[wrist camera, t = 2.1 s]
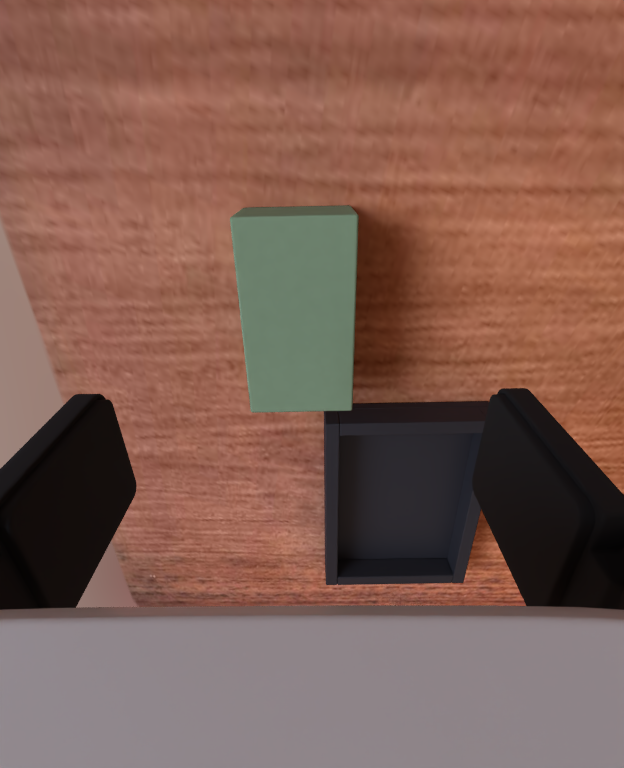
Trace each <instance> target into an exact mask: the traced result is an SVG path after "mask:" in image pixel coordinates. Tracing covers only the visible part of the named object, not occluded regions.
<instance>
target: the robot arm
mask: <svg viewBox="0 0 624 768" xmlns="http://www.w3.org/2000/svg"><path fill="white" fill-rule="evenodd" d="M472 488H473V492H474V494H475V496H476V499H477V501H478V503H479V505H480V507H481V509H482V511H483V514H484V516H485V518H486V520H487V522H488V524H489V526H490V529H491V531H492V533H493V535H494V537H495V539H496V541H497V543H498V546H499V548H500V550H501V552H502V554H503V556H504V558H505V561H506V563H507V565H508V567H509V569H510V571H511V573H512V576H513V578H514V580H515V582H516V584H517V586H518V588H519V591H520V593H521V595H522V597H523V599H524V601H525V603H526V606H191V607H105V608H104V607H103V608H102V607H99V608H76V606H77V604H78V602H79V600H80V598H81V597H82V595H83V593H84V591H85V589H86V587H87V585H88V583H89V581H90V579H91V578H92V576H93V574H94V572H95V570H96V568H97V566H98V564H99V562H100V560H101V559H102V557H103V555H104V553H105V551H106V549H107V547H108V545H109V543H110V542H111V540H112V538H113V536H114V534H115V532H116V530H117V528H118V526H119V524H120V523H121V521H122V519H123V517H124V515H125V513H126V511H127V509H128V507H129V506H130V504H131V502H132V500H133V498H134V496H135V493H136V480H135V477H134V474H133V470H132V467H131V464H130V460H129V457H128V454H127V450H126V447H125V444H124V440H123V437H122V434H121V430H120V427H119V424H118V421H117V417H116V414H115V411H114V407H113V404H112V402H111V401H110V400H106V399H105V398H104V396H103V395H101V394H77V395H74V396H73V397H72V398H71V399H70V400H69V401H68V402H67V403H66V404H65V405H64V406H63V407H62V408H61V409H60V410H59V411H58V412H57V413H56V414H55V415H54V416H53V417H52V418H51V419H50V420H49V421H48V422H47V423H46V424H45V425H44V426H43V427H42V428H41V429H40V430H39V431H38V432H37V433H36V434H35V435H34V436H33V437H32V438H31V439H30V440H29V441H28V442H27V443H26V444H25V445H24V446H23V447H22V448H21V449H20V450H19V451H18V452H17V453H16V454H15V455H14V456H13V457H12V458H11V459H10V460H9V461H8V462H7V463H6V464H5V465H4V466H3V467H2V468H1V469H0V768H624V495H623V494H622V493H621V492H620V490H619V489H618V488H617V487H616V486H615V485H614V484H613V483H612V482H611V480H610V479H609V478H608V477H607V476H606V475H605V474H604V473H603V472H602V470H601V469H600V468H599V467H598V466H597V465H596V464H595V463H594V462H593V461H592V459H591V458H590V457H589V456H588V455H587V454H586V453H585V452H584V451H583V449H582V448H581V447H580V446H579V445H578V444H577V443H576V442H575V441H574V439H573V438H572V437H571V436H570V435H569V434H568V433H567V432H566V431H565V429H564V428H563V427H562V426H561V425H560V424H559V423H558V422H557V421H556V420H555V418H554V417H553V416H552V415H551V414H550V413H549V412H548V411H547V410H546V408H545V407H544V406H543V405H542V404H541V403H540V402H539V401H538V400H537V398H536V397H535V396H534V395H533V394H532V393H531V392H530V391H529V390H528V389H525V388H513V389H501V390H499V392H498V394H497V395H492V396H491V398H490V401H489V406H488V410H487V415H486V419H485V424H484V428H483V433H482V437H481V441H480V446H479V450H478V455H477V459H476V464H475V468H474V473H473V477H472Z"/></svg>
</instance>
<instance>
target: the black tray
mask: <svg viewBox="0 0 624 768" xmlns="http://www.w3.org/2000/svg"><path fill="white" fill-rule="evenodd" d="M488 406H489V402H488V401H473V402H422V403H370V404H352V410H351V411H324V479H325V572H326V585H337V584H338V585H351V584H409V583H451V582H452V583H463V581H464V577H465V573H466V569H467V565H468V561H469V557H470V552H471V548H472V544H473V540H474V536H475V532H476V528H477V524H478V520H479V516H480V511H481V507H480V505H479V503H478V501H477V499H476V496H475V494H474V492H473V488H472V477H473V473H474V468H475V464H476V459H477V455H478V450H479V446H480V441H481V437H482V433H483V428H484V424H485V419H486V415H487V410H488Z"/></svg>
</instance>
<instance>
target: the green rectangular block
mask: <svg viewBox="0 0 624 768" xmlns="http://www.w3.org/2000/svg"><path fill="white" fill-rule="evenodd" d="M358 218H359V216H358V214H357V213H356V212H355V211H354V210H353V208H352V207H351V206H349V205H347V206H301V207H255V208H243V209H241V210H240V211H239V212H237V213H236V214H235V215H233V216H232V217H231V218H230V223H231V232H232V241H233V250H234V260H235V269H236V278H237V288H238V297H239V306H240V315H241V325H242V334H243V343H244V352H245V362H246V371H247V380H248V389H249V399H250V408H251V412H302V411H351V410H352V403H353V372H354V342H355V311H356V280H357V249H358Z"/></svg>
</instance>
